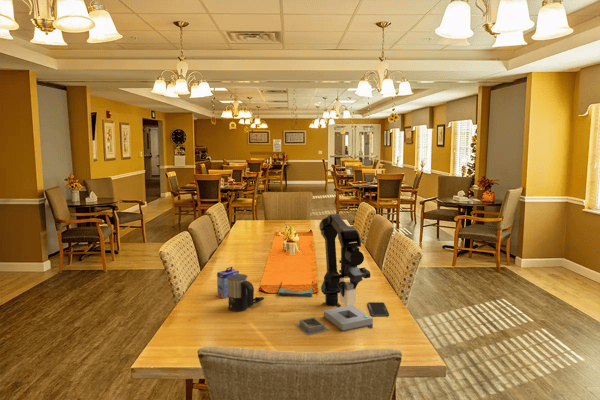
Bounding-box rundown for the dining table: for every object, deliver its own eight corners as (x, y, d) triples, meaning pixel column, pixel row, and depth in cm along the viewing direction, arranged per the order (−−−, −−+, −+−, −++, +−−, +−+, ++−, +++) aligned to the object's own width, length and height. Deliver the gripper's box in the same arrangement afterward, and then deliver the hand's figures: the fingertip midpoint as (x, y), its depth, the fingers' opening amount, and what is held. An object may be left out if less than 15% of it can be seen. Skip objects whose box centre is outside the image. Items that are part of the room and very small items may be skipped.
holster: (294, 326, 185) (294, 319, 185) (316, 321, 190) (316, 315, 189) (307, 337, 175) (307, 330, 174) (330, 332, 179) (330, 325, 178)
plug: (339, 300, 189) (339, 282, 187) (348, 299, 190) (348, 280, 189) (347, 305, 183) (347, 286, 182) (355, 303, 185) (355, 285, 184)
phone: (371, 314, 195) (367, 302, 210) (371, 317, 195) (367, 304, 210) (389, 314, 195) (384, 302, 210) (389, 317, 195) (384, 304, 210)
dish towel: (276, 297, 221) (276, 292, 220) (282, 282, 244) (282, 278, 243) (312, 298, 219) (312, 293, 219) (314, 283, 243) (314, 278, 242)
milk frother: (223, 310, 203) (222, 278, 201) (240, 298, 218) (240, 268, 216) (252, 314, 198) (251, 281, 196) (267, 302, 213) (267, 271, 211)
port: (323, 319, 192) (323, 309, 192) (351, 313, 198) (352, 304, 197) (342, 334, 178) (342, 323, 177) (372, 327, 184) (372, 317, 183)
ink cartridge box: (223, 299, 217) (222, 270, 215) (216, 296, 221) (215, 267, 219) (239, 294, 224) (239, 265, 222) (232, 291, 228) (232, 263, 226)
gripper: (337, 266, 173) (337, 305, 175) (378, 261, 181) (377, 298, 183) (324, 259, 183) (324, 296, 185) (363, 254, 191) (362, 290, 193)
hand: (347, 295), depth 186 cm, fingers closed on plug, 4 cm apart
